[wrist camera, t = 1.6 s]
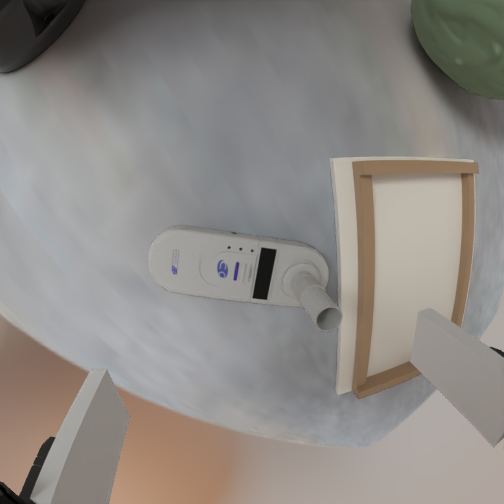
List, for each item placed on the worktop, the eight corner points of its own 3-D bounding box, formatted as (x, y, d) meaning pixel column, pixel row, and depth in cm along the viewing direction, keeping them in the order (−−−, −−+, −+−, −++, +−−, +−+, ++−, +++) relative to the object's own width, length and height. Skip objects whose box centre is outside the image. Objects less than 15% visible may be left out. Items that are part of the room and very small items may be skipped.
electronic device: (116, 246, 14) (379, 281, 16) (157, 220, 23) (325, 244, 25) (117, 333, 15) (354, 356, 17) (152, 278, 24) (312, 298, 26)
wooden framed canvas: (329, 158, 23) (342, 156, 20) (469, 159, 25) (485, 160, 22) (335, 391, 30) (343, 406, 27) (453, 344, 32) (464, 353, 29)
